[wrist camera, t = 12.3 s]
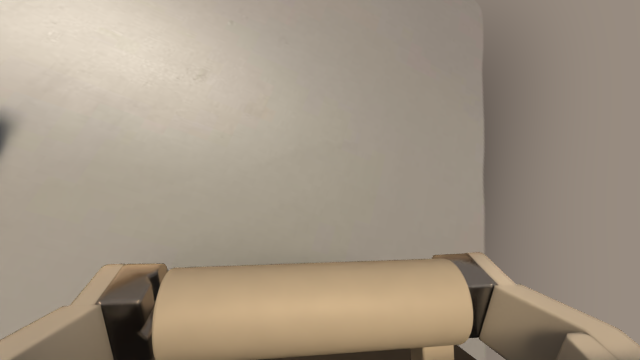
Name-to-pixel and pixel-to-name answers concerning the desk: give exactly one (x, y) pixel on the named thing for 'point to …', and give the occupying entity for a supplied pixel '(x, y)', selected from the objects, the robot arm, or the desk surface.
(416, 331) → the brown box lid
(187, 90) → the desk surface
